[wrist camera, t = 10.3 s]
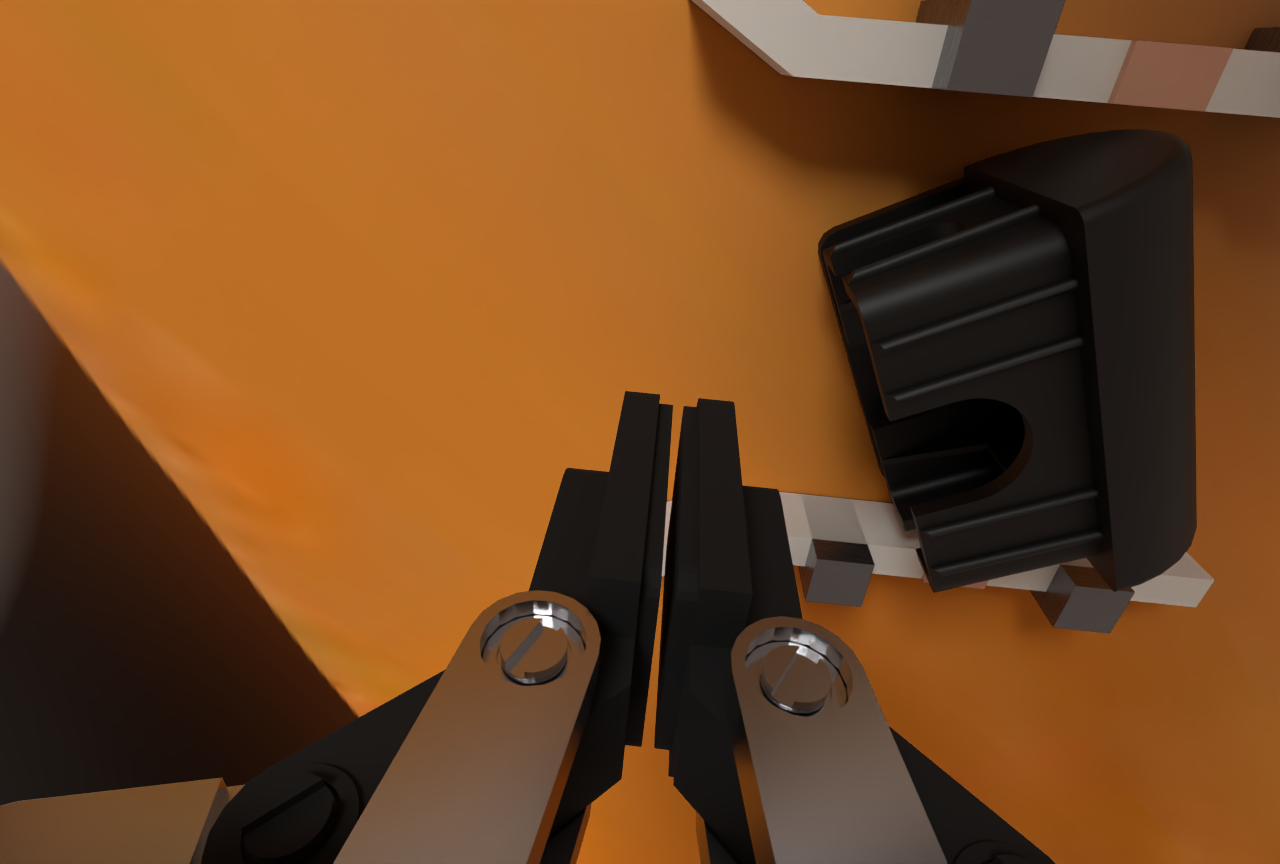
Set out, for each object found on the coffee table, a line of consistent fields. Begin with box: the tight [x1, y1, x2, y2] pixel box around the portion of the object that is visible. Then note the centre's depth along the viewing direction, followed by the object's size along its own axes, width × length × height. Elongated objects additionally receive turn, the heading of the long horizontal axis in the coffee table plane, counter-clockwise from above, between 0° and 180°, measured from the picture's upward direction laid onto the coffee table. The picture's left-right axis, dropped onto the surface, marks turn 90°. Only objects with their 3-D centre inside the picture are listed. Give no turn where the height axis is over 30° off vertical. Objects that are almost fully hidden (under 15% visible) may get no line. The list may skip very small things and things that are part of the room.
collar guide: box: [662, 0, 1280, 633], centre depth 18 cm, size 18×19×4 cm
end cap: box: [818, 130, 1197, 593], centre depth 17 cm, size 10×7×7 cm
